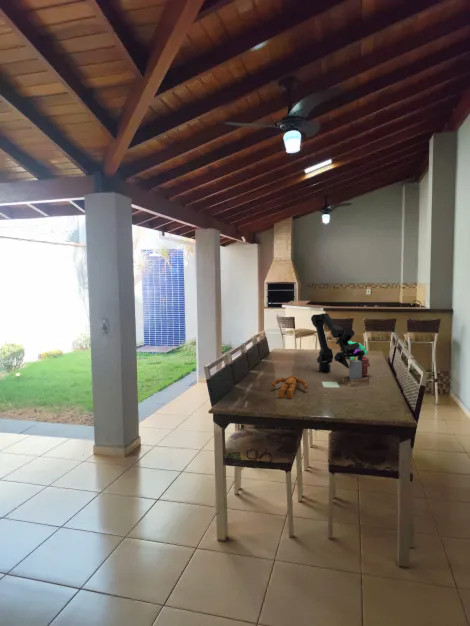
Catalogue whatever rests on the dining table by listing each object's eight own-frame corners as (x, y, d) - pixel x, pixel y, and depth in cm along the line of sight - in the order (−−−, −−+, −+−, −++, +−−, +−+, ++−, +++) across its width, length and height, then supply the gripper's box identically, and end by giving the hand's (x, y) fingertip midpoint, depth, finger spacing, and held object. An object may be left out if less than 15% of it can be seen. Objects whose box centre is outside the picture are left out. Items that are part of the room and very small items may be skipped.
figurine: (345, 363, 307) (371, 359, 308) (342, 345, 306) (369, 340, 306) (338, 358, 326) (363, 354, 326) (336, 341, 324) (361, 336, 324)
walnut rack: (342, 383, 246) (342, 376, 246) (358, 381, 250) (359, 374, 250) (351, 386, 237) (351, 380, 237) (368, 384, 241) (369, 378, 241)
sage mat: (321, 382, 248) (321, 381, 248) (336, 382, 247) (336, 381, 247) (323, 387, 237) (323, 387, 237) (339, 387, 236) (339, 387, 236)
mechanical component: (368, 374, 267) (370, 378, 257) (352, 373, 269) (354, 377, 259) (369, 355, 266) (371, 358, 256) (353, 354, 268) (354, 358, 258)
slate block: (349, 382, 245) (349, 357, 244) (356, 381, 247) (356, 356, 245) (354, 384, 240) (354, 358, 239) (361, 383, 242) (362, 357, 241)
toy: (304, 402, 215) (311, 384, 243) (304, 389, 214) (311, 373, 242) (266, 399, 221) (277, 382, 249) (266, 386, 220) (277, 371, 248)
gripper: (337, 339, 243) (347, 361, 234) (363, 337, 249) (375, 358, 240) (329, 349, 251) (339, 371, 242) (355, 347, 258) (366, 368, 248)
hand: (355, 367), depth 243 cm, fingers open, 9 cm apart
